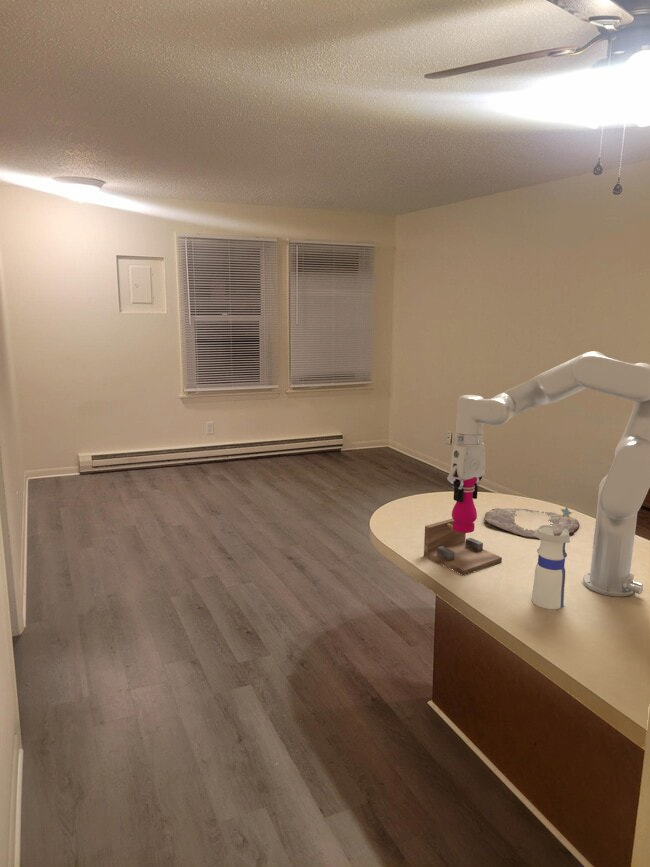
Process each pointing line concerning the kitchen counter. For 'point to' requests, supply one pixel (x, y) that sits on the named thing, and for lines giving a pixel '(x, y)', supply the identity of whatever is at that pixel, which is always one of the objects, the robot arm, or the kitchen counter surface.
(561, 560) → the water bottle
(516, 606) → the kitchen counter surface
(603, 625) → the kitchen counter surface
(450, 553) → the pegged stand
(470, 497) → the pepper mill
